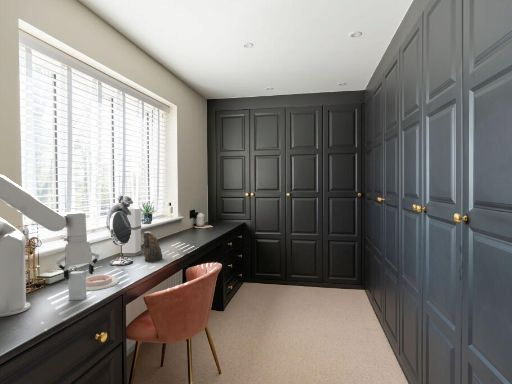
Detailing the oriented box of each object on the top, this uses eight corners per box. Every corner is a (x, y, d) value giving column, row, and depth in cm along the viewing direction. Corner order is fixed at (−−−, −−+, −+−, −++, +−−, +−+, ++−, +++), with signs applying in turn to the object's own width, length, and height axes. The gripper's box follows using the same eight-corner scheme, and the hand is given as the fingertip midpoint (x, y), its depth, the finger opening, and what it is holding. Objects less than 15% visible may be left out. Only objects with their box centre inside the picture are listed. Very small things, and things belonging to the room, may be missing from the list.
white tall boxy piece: (141, 252, 232) (141, 207, 232) (135, 256, 221) (135, 208, 221) (127, 252, 232) (126, 207, 232) (120, 256, 222) (119, 208, 221)
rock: (149, 263, 200) (149, 233, 200) (136, 261, 206) (136, 232, 206) (163, 259, 212) (163, 230, 211) (150, 257, 217) (150, 229, 217)
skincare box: (86, 296, 139) (86, 270, 138) (82, 300, 134) (82, 273, 134) (72, 297, 138) (72, 271, 138) (67, 300, 134) (67, 273, 133)
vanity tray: (81, 293, 142) (81, 287, 142) (71, 284, 157) (71, 278, 157) (124, 284, 156) (124, 278, 156) (111, 276, 171) (111, 270, 171)
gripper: (56, 243, 127) (58, 283, 128) (100, 237, 139) (102, 273, 140) (52, 241, 133) (55, 279, 133) (95, 235, 145) (97, 270, 145)
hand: (79, 276), depth 136 cm, fingers open, 9 cm apart
